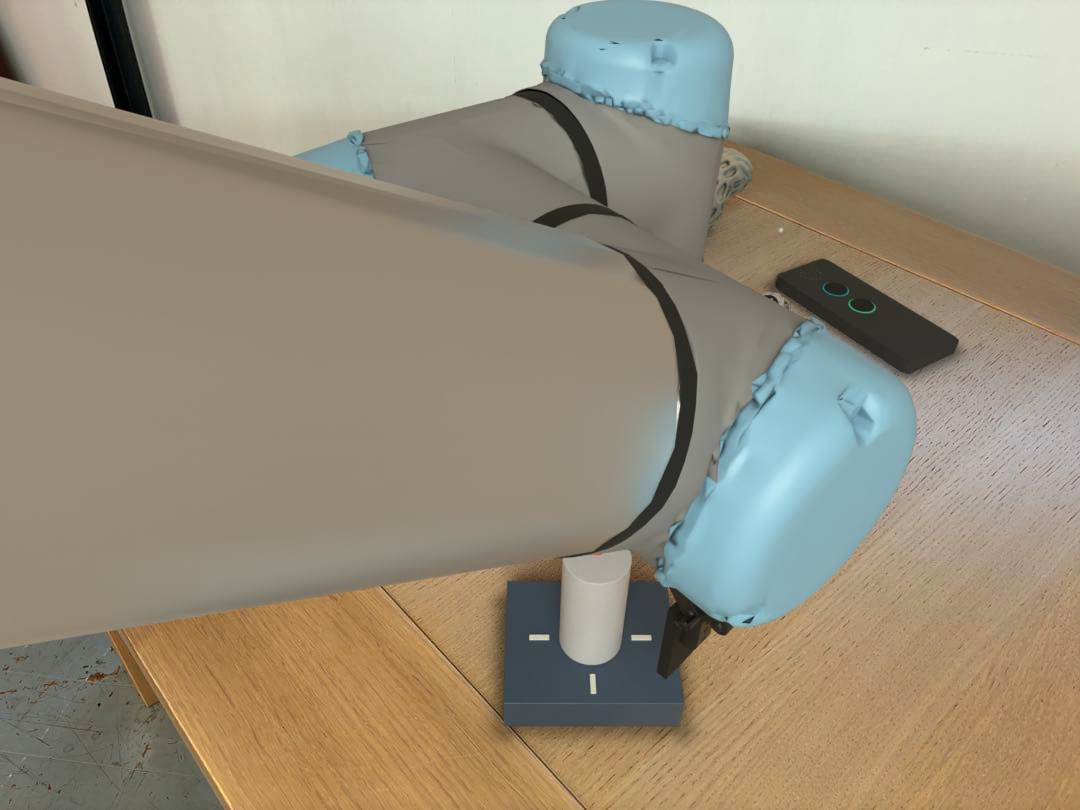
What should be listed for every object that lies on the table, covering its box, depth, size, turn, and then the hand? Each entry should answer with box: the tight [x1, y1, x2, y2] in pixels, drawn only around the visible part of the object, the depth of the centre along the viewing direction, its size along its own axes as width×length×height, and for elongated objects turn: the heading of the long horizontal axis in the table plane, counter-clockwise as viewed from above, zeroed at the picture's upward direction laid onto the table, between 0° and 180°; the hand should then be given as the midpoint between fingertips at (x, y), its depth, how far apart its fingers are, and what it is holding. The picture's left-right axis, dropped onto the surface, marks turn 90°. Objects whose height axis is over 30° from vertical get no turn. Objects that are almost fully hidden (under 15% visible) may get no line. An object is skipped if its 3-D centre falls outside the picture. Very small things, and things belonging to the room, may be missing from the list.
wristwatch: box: [761, 290, 791, 310], centre depth 90 cm, size 4×6×5 cm, turn 137°
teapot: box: [708, 146, 754, 230], centre depth 104 cm, size 21×12×15 cm, turn 108°
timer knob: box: [559, 550, 633, 665], centre depth 55 cm, size 4×4×9 cm
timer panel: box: [502, 580, 685, 727], centre depth 59 cm, size 12×10×3 cm
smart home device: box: [775, 258, 960, 375], centre depth 94 cm, size 8×2×20 cm
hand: (593, 599), depth 55 cm, fingers open, 13 cm apart
